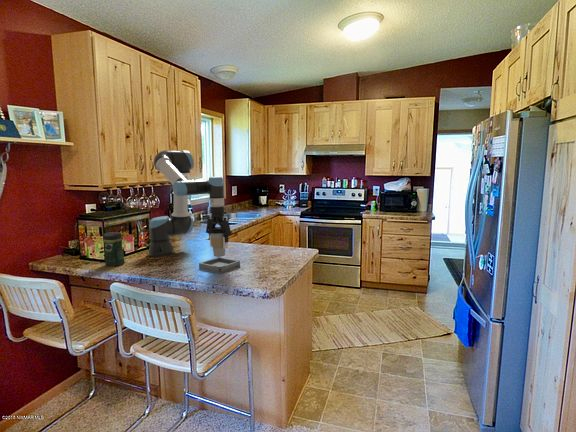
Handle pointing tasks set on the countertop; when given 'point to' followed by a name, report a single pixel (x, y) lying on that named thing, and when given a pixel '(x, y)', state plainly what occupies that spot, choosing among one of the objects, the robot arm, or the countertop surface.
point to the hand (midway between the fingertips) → (219, 247)
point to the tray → (219, 265)
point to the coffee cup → (217, 241)
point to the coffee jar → (113, 249)
